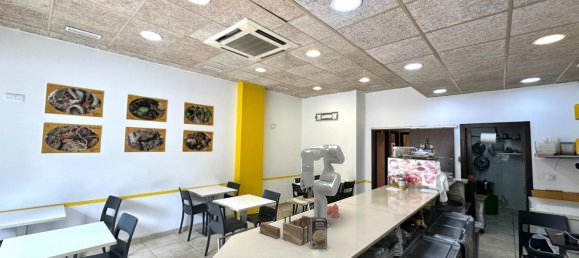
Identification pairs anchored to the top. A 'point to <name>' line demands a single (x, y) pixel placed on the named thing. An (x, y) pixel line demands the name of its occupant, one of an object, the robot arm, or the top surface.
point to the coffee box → (318, 233)
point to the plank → (270, 230)
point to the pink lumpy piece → (333, 210)
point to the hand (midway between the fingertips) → (307, 197)
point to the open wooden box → (297, 230)
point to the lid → (303, 199)
